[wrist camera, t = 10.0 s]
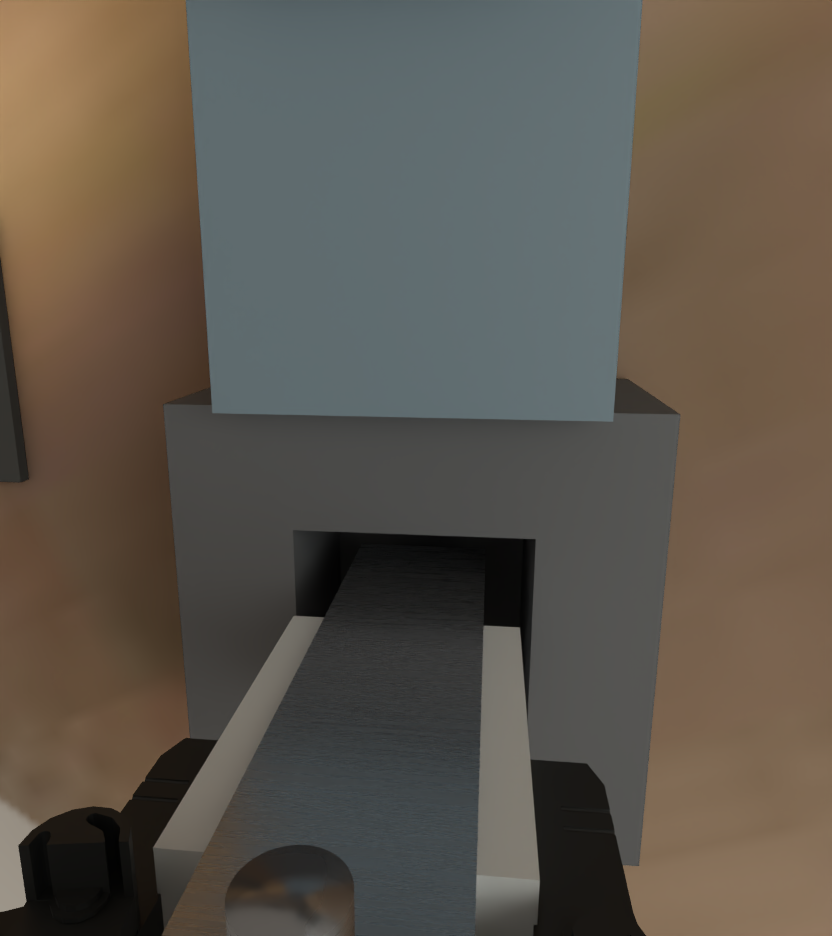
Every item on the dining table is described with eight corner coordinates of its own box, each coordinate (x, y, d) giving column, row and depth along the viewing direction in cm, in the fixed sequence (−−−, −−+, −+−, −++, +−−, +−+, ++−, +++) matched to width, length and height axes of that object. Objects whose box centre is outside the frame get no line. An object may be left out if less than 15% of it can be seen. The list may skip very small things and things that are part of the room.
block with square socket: (224, -137, 19) (-10, -508, 10) (667, -161, 18) (838, -600, 9) (271, 780, 25) (154, 1040, 16) (596, 802, 24) (655, 1094, 15)
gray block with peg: (363, 701, 20) (96, 1558, 7) (361, 491, 19) (12, 1033, 5) (480, 708, 20) (454, 1624, 6) (486, 496, 18) (470, 1082, 5)
